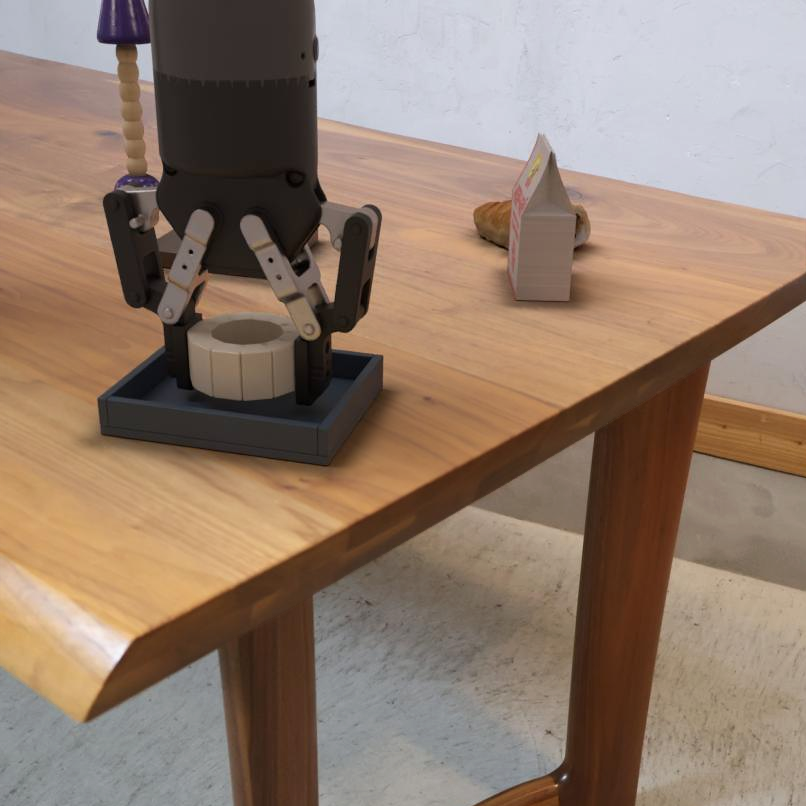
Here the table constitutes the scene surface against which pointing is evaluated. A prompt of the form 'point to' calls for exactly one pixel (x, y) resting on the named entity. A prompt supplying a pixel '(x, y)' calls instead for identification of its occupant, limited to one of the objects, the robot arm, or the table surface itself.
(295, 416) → the tray
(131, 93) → the toy lamp
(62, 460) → the table surface
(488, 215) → the pastry
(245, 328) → the ring
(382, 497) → the table surface
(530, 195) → the milk carton
